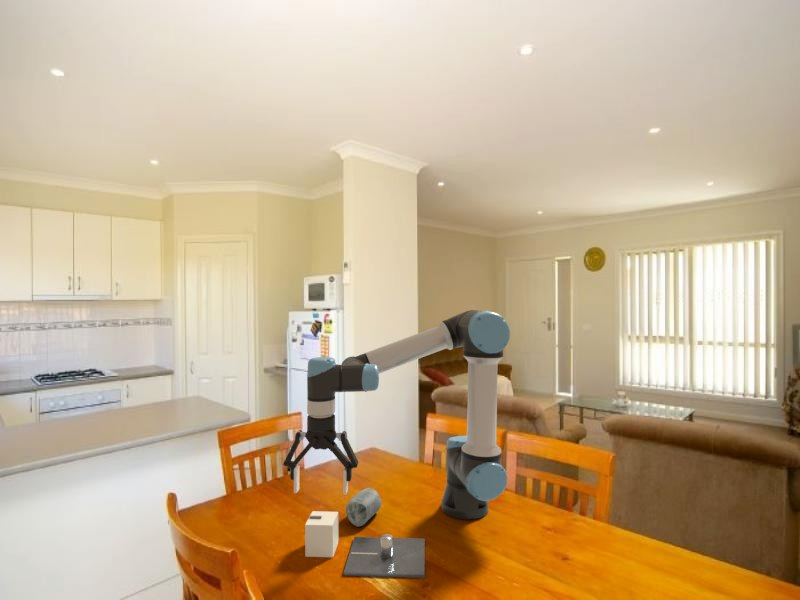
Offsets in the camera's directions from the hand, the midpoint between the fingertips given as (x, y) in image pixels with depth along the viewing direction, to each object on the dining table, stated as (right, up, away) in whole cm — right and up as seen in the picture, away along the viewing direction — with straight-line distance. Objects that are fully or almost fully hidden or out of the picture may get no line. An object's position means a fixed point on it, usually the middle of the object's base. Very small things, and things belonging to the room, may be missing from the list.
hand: (321, 491), depth 119 cm
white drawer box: (0, -16, 0) cm, 16 cm away
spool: (+10, -16, +16) cm, 25 cm away
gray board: (+18, -16, -4) cm, 24 cm away
